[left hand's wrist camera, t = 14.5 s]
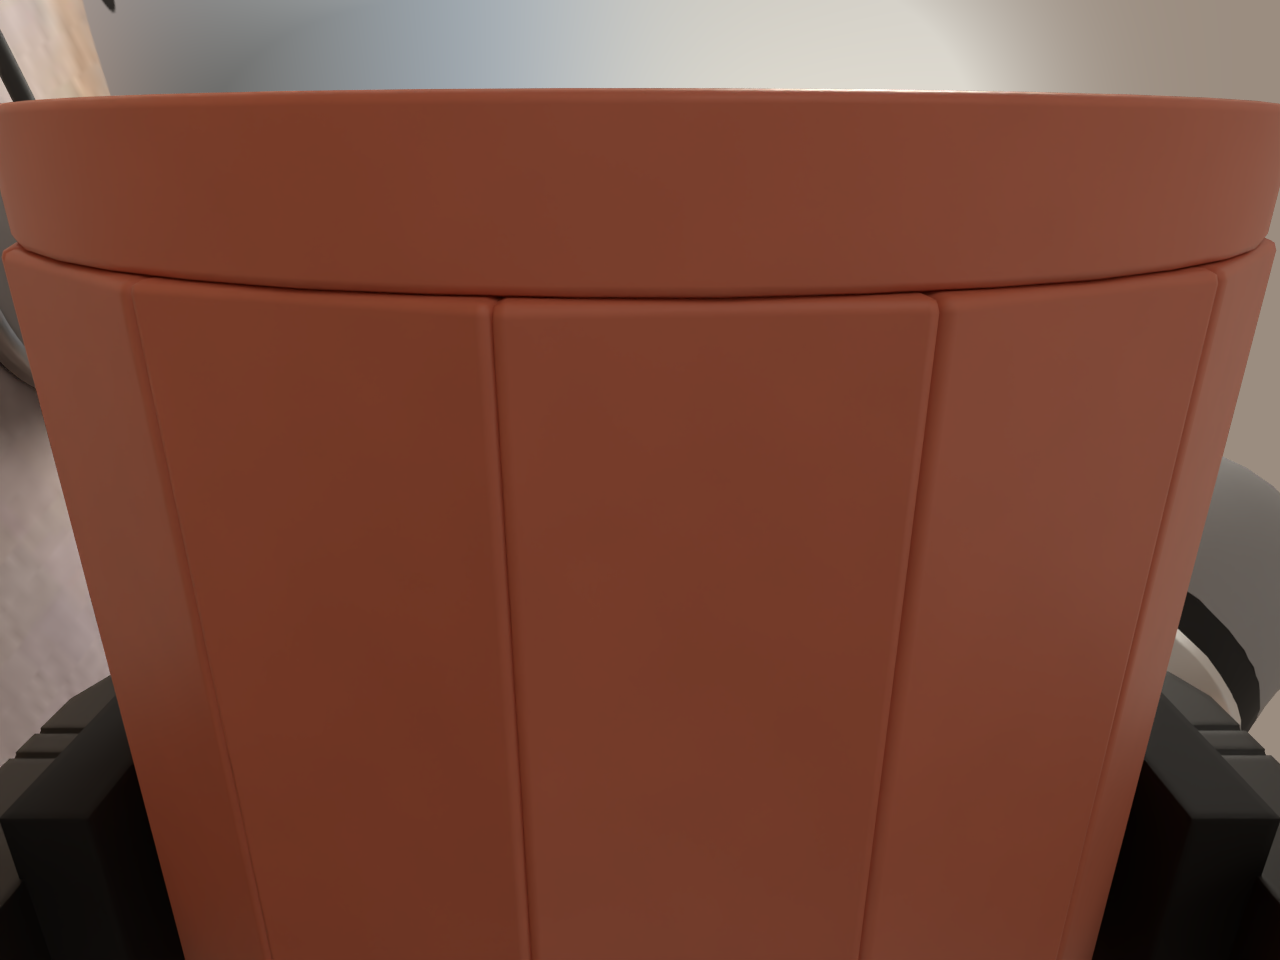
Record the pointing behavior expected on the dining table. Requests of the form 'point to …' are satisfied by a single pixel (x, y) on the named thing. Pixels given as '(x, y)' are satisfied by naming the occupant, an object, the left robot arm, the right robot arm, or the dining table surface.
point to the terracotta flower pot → (638, 499)
